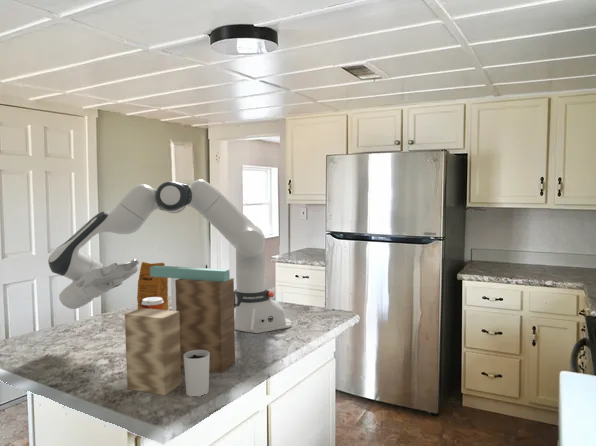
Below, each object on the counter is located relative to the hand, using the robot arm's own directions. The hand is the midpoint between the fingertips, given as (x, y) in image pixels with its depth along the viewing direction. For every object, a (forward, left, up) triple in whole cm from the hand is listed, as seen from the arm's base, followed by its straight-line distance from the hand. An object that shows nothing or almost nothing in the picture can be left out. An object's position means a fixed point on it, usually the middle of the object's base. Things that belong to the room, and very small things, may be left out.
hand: (126, 263), depth 147 cm
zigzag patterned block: (-7, +32, -29) cm, 44 cm away
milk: (-20, -32, -29) cm, 48 cm away
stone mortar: (-48, -52, -29) cm, 77 cm away
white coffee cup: (-17, +39, -29) cm, 52 cm away
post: (-22, +21, -29) cm, 42 cm away
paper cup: (-8, -12, -29) cm, 33 cm away
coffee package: (-9, -48, -29) cm, 57 cm away
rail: (-18, +18, -3) cm, 25 cm away
